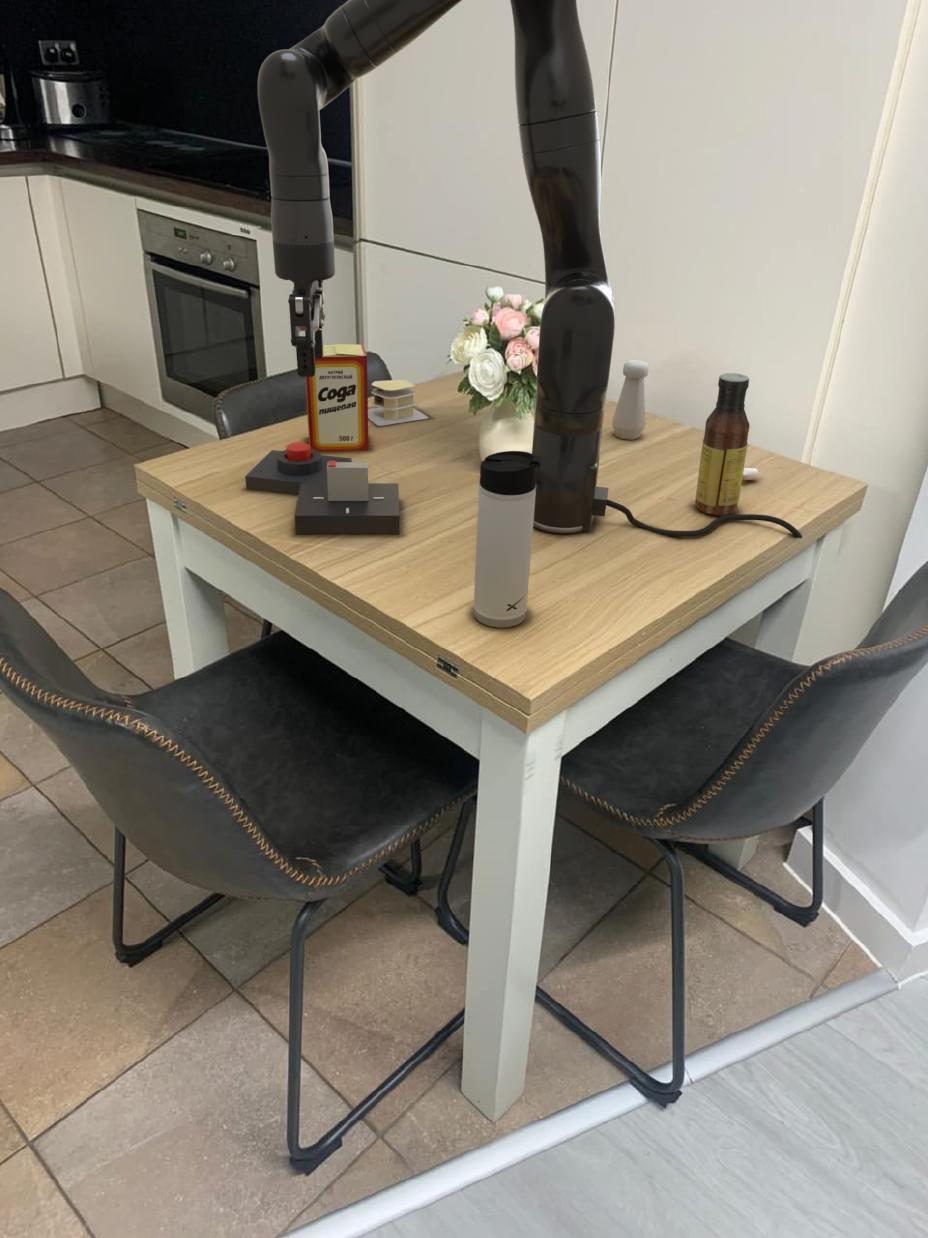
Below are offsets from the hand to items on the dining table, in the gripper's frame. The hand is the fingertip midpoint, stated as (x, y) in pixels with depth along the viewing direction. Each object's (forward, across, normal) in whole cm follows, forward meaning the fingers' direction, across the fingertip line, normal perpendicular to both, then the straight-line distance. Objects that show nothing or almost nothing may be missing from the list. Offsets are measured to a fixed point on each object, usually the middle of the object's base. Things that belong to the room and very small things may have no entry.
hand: (311, 366), depth 126 cm
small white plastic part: (+21, +14, -65) cm, 70 cm away
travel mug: (+21, -29, -25) cm, 44 cm away
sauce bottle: (+21, +3, -58) cm, 62 cm away
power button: (+17, +9, +4) cm, 19 cm away
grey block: (+17, -4, -5) cm, 18 cm away
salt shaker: (+21, +33, -50) cm, 63 cm away
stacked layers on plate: (+21, +41, -8) cm, 46 cm away
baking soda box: (+20, +25, 0) cm, 32 cm away
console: (+20, -4, -4) cm, 21 cm away
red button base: (+20, +9, +4) cm, 23 cm away
